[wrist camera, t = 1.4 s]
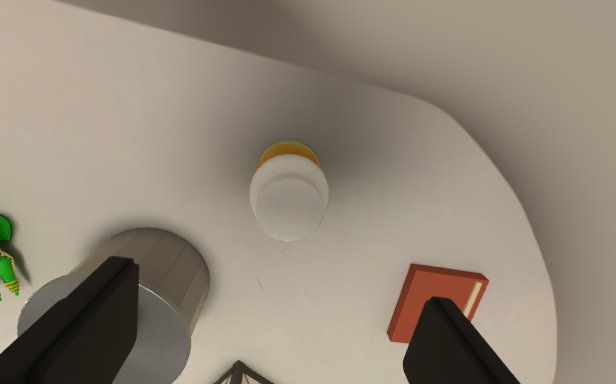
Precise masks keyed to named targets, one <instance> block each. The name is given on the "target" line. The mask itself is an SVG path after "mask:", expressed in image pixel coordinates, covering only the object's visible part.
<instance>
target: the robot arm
mask: <svg viewBox="0 0 616 384" xmlns="http://www.w3.org/2000/svg"><path fill="white" fill-rule="evenodd" d="M138 297H139V264H135V263H134V260H133V259H132V258H127V257H120V256H110V257H109V258H107V259H106V260H105V261H104V262H103V263H102V264H101V265H100V266H99V267H98V268H97V269H96V270H95V271H94V272H92V273H91V274H90V275H89V276H88V277H87V278H86V279H85V280H84V281H83V282H82V283H81V284H80V285H79V286H78V287H76V288H75V289H74V290H73V291H72V292H71V293H70V294H69V295H68V296H67V297H66V298H64V299H61V300H59V301H58V302H57V303H55V304H54V305H53V306H52V307H51V308H50V309H49V310H48V311H47V312H45V313H44V314H43V315H42V316H41V317H40V318H39V319H38V320H37V321H36V322H35V323H33V324H32V325H31V326H30V327H29V328H28V329H27V330H26V331H25V332H24V333H23V334H21V335H20V336H19V337H18V338H17V339H16V340H15V341H14V342H13V343H12V344H11V345H10V346H8V347H7V348H6V349H5V350H4V351H3V352H2V353H1V354H0V384H112V382H113V381H114V379H115V377H116V376H117V374H118V372H119V371H120V369H121V367H122V366H123V364H124V362H125V360H126V359H127V357H128V355H129V354H130V352H131V350H132V349H133V347H134V344H135V342H136V338H137V325H138ZM403 369H404V373H405V375H406V377H407V380H408V382H409V384H520V383H519V381H518V380H517V379H516V378H515V376H514V375H513V374H512V373H511V372H510V370H509V369H508V368H507V367H506V365H505V364H504V363H503V362H502V360H501V359H500V358H499V357H498V356H497V354H496V353H495V352H494V351H493V349H492V348H491V347H490V346H489V345H488V343H487V342H486V341H485V340H484V338H483V337H482V336H481V335H480V333H479V332H478V331H477V330H476V329H475V327H474V326H473V325H472V324H471V322H470V321H469V320H468V319H467V318H466V316H465V315H464V314H463V313H462V311H461V310H460V309H459V308H458V307H457V305H456V304H455V303H454V302H453V300H451V299H450V298H445V297H437V296H433V297H431V298H430V299H429V300H427V301H426V302H425V304H424V306H423V309H422V311H421V314H420V317H419V319H418V322H417V325H416V327H415V330H414V333H413V335H412V338H411V341H410V343H409V346H408V349H407V351H406V354H405V357H404V360H403Z"/></svg>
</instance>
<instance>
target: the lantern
mask: <svg viewBox="0 0 616 384" xmlns="http://www.w3.org/2000/svg"><path fill="white" fill-rule="evenodd" d="M244 365H245V364H243V363H242V362H240V361H239V360H238V361H237V362H236V363H235V364H234V365H233V368H232V369H230V370H229V371H228V372H227V373H226V374H225V375H224V376H223V377H221V378H220V379H219V380H218V381H217V382H216V383H215V384H273V383H271V382H269V381H268V380H266V379H265V378H263V377H262V376H260V375H258V374H257V373H255V372H254V371H252V370H250V369H249V368H247V367H246V366H244Z"/></svg>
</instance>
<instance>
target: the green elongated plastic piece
mask: <svg viewBox="0 0 616 384" xmlns="http://www.w3.org/2000/svg"><path fill="white" fill-rule="evenodd" d="M10 236H11V228H10V224H9V222H8V221H7V219H5V218H4V217H2V216H0V241H1V240H4V239H5V240H10ZM0 252H1V253H2V255H0V256H1V257H0V277H1V278H2V279H3V280H4V281H5V282H3V285H7V286H6V288H9V291H11V293H15V295H16V296H18V295H19V293H18V291H19V290H20V289H18V288H19V287H20V286H19V285H18V284H19V282H16V281H18V280H19V279H18V278H15V275H14V273H15V269H14V259H13V258H12V257H11V256H10V255H8V254H7V253H5V252H3V251H2V250H1V248H0ZM3 253H5V254H3ZM3 255H5V256H7V257H8V258H7V257H3ZM9 257H10V258H11V259H12V261H11V260H10V259H9ZM12 265H13V266H12ZM13 270H14V271H13ZM0 296H1V294H0ZM1 300H2V299H1V297H0V301H1Z"/></svg>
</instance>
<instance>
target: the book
mask: <svg viewBox="0 0 616 384" xmlns="http://www.w3.org/2000/svg"><path fill="white" fill-rule="evenodd" d="M488 283H489V280H488V279H487V278H486V277H485V276H483V275H482V274H477V273H470V272H463V271H456V270H449V269H442V268H435V267H429V266H422V265H415V264H411V267H410V270H409V273H408V275H407V278H406V281H405V284H404V287H403V290H402V292H401V295H400V298H399V301H398V304H397V307H396V309H395V312H394V315H393V318H392V321H391V324H390V326H389V329H388V332H387V334H388V337H389V339H390V341H391V342H400V343H410V341H411V338H412V335H413V333H414V330H415V327H416V325H417V322H418V319H419V317H420V314H421V311H422V309H423V306H424V304H425V302H426V301H427V300H429V299H430V298H431V297H433V296H437V297H445V298H450V299H451V300H453V302H454V303H455V304H456V305H457V307H458V308H459V309H460V310H461V311H462V313H463V314H464V315H465V316H466V318H467V319H468V320H469V321H470V322H471V320H472V318H473V315H474V313H475V311H476V309H477V307H478V304H479V302H480V300H481V298H482V296H483V293H484V291H485V289H486V287H487V285H488Z"/></svg>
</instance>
